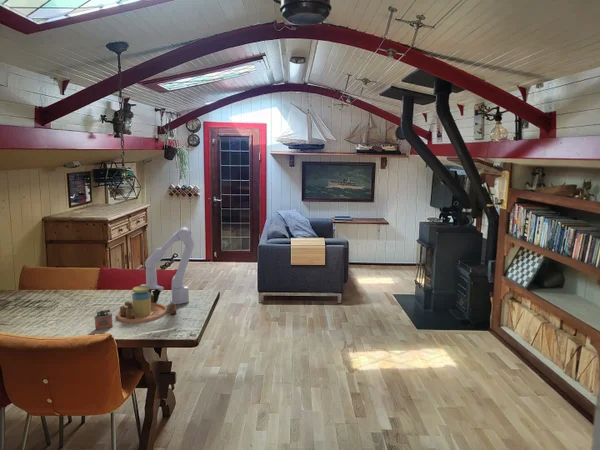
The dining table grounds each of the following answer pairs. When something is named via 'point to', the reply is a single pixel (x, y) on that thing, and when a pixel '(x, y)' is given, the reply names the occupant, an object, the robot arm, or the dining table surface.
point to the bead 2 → (172, 309)
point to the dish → (157, 311)
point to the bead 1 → (152, 298)
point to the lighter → (103, 320)
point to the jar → (141, 301)
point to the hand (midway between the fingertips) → (152, 301)
